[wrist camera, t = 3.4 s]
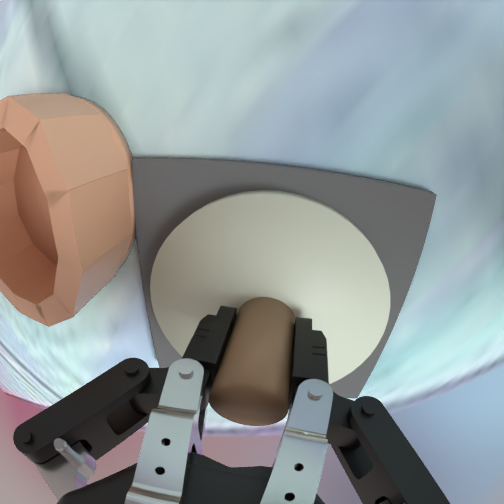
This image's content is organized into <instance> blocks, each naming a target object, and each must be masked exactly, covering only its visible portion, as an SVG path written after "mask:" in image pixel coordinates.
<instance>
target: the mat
mask: <svg viewBox="0 0 504 504" xmlns="http://www.w3.org/2000/svg"><path fill="white" fill-rule="evenodd" d="M132 176H133V197H134V212H135V224H136V234H137V244H138V253H139V261H140V268H141V276H142V282H143V289H144V295H145V301H146V307H147V312H148V318H149V323H150V328H151V333H152V337H153V342H154V347H155V351H156V355H157V360H158V364H159V368H167V367H170V366H171V364H172V363H173V362H175V361H177V360H179V359H181V358H182V356H181V355H180V354H179V353H178V352H177V351H176V350H175V349H174V347H173V346H172V345H171V344H170V342H169V341H168V340H167V338H166V337H165V335H164V334H163V332H162V330H161V328H160V326H159V324H158V322H157V319H156V317H155V314H154V311H153V306H152V302H151V293H150V281H151V273H152V268H153V264H154V261H155V259H156V256H157V254H158V251H159V249H160V248H161V246H162V245H163V243H164V241H165V240H166V238H167V237H168V236H169V235H170V234H171V233H172V231H173V230H174V229H175V228H176V227H177V226H178V225H179V224H180V223H182V222H183V221H184V220H185V219H186V218H188V217H189V216H190V215H191V214H192V213H194V212H195V211H196V210H198V209H199V208H201V207H203V206H205V205H206V204H208V203H210V202H212V201H214V200H217V199H219V198H222V197H224V196H227V195H231V194H235V193H240V192H245V191H255V190H278V191H285V192H291V193H296V194H301V195H304V196H307V197H310V198H313V199H316V200H318V201H320V202H322V203H324V204H326V205H328V206H330V207H332V208H334V209H336V210H337V211H339V212H340V213H341V214H343V215H344V216H346V217H347V218H349V219H350V220H351V221H352V222H353V223H354V224H355V225H356V226H357V227H358V228H359V229H360V230H361V231H362V232H363V233H364V235H365V236H366V237H367V239H368V240H369V241H370V242H371V244H372V246H373V248H374V250H375V251H376V253H377V255H378V257H379V259H380V261H381V263H382V264H383V267H384V269H385V272H386V275H387V278H388V282H389V289H390V312H389V318H388V322H387V325H386V328H385V331H384V334H383V336H382V338H381V339H380V341H379V343H378V345H377V346H376V348H375V349H374V351H373V352H372V353H371V355H370V356H369V357H368V358H367V359H366V360H365V361H364V362H363V363H362V364H361V365H360V366H358V367H357V368H356V369H355V370H354V371H352V372H351V373H349V374H348V375H346V376H345V377H343V378H341V379H339V380H337V381H335V382H333V383H331V384H329V385H330V386H331V388H332V390H333V391H334V392H335V393H336V394H337V395H339V396H341V397H344V398H357V397H358V396H359V394H360V392H361V390H362V389H363V387H364V385H365V383H366V382H367V380H368V378H369V376H370V374H371V372H372V370H373V369H374V367H375V365H376V363H377V361H378V359H379V357H380V355H381V353H382V351H383V349H384V347H385V344H386V342H387V340H388V338H389V336H390V334H391V332H392V329H393V327H394V325H395V322H396V320H397V318H398V315H399V313H400V311H401V308H402V306H403V303H404V301H405V298H406V296H407V293H408V290H409V288H410V285H411V282H412V279H413V276H414V274H415V271H416V268H417V265H418V262H419V259H420V255H421V252H422V249H423V246H424V242H425V239H426V235H427V232H428V228H429V224H430V220H431V216H432V212H433V208H434V204H435V199H436V194H434V193H433V192H430V191H427V190H422V189H418V188H414V187H410V186H405V185H401V184H396V183H392V182H387V181H382V180H377V179H372V178H367V177H361V176H356V175H350V174H344V173H338V172H332V171H325V170H318V169H311V168H303V167H295V166H287V165H278V164H268V163H258V162H246V161H233V160H217V159H195V158H136V159H132Z"/></svg>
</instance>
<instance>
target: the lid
mask: <svg viewBox="0 0 504 504" xmlns="http://www.w3.org/2000/svg"><path fill="white" fill-rule="evenodd" d="M150 293H151V302H152V306H153V311H154V314H155V317H156V319H157V322H158V324H159V326H160V328H161V330H162V332H163V334H164V335H165V337H166V338H167V340H168V341H169V342H170V344H171V345H172V346H173V347H174V349H175V350H176V351H177V352H178V353H179V354H180V355H181V356H182V357H183V355H184V353H185V351H186V349H187V346H188V344H189V342H190V340H191V338H192V336H193V335H194V332H195V330H196V329H197V326H198V324H199V322H200V320H201V319H203V318H204V317H205V316H206V315H208V314H210V315H217V312H218V310H219V308H220V306H227V307H233V308H237V316H236V319H235V322H234V325H233V328H232V331H231V334H230V336H229V339H228V342H227V345H226V348H225V351H224V354H223V357H222V360H221V363H220V366H219V368H218V371H217V374H216V377H215V380H214V383H213V385H212V388H211V391H210V394H209V403H210V405H211V407H212V408H213V409H214V411H216V412H217V413H218V414H219V415H221V416H222V417H224V418H226V419H228V420H230V421H233V422H236V423H239V424H244V425H250V426H265V425H270V424H274V423H277V422H279V421H281V420H282V419H283V418H285V416H286V415H287V413H288V405H289V395H290V377H291V365H292V353H293V339H294V324H295V319H296V317H302V318H311V319H312V330H319V331H322V332H323V334H324V336H325V337H326V339H327V356H328V376H329V384H331V383H333V382H335V381H337V380H339V379H341V378H343V377H345V376H346V375H348V374H349V373H351V372H352V371H354V370H355V369H356V368H357V367H358V366H360V365H361V364H362V363H363V362H364V361H365V360H366V359H367V358H368V357H369V356H370V355H371V353H372V352H373V351H374V349H375V348H376V346H377V345H378V343H379V341H380V339H381V338H382V336H383V334H384V331H385V328H386V325H387V322H388V318H389V312H390V289H389V282H388V278H387V275H386V272H385V269H384V267H383V264H382V263H381V261H380V259H379V257H378V255H377V253H376V251H375V250H374V248H373V246H372V244H371V242H370V241H369V240H368V239H367V237H366V236H365V235H364V233H363V232H362V231H361V230H360V229H359V228H358V227H357V226H356V225H355V224H354V223H353V222H352V221H351V220H350V219H349V218H347V217H346V216H344V215H343V214H341V213H340V212H339V211H337V210H336V209H334V208H332V207H330V206H328V205H326V204H324V203H322V202H320V201H318V200H316V199H313V198H310V197H307V196H304V195H301V194H296V193H291V192H285V191H278V190H255V191H245V192H240V193H235V194H231V195H227V196H224V197H222V198H219V199H217V200H214V201H212V202H210V203H208V204H206V205H205V206H203V207H201V208H199V209H198V210H196V211H195V212H194V213H192V214H191V215H190V216H189V217H188V218H186V219H185V220H184V221H183V222H182V223H180V224H179V225H178V226H177V227H176V228H175V229H174V230H173V231H172V233H171V234H170V235H169V236H168V237H167V238H166V240H165V241H164V243H163V245H162V246H161V248H160V249H159V251H158V254H157V256H156V259H155V261H154V264H153V268H152V273H151V281H150Z"/></svg>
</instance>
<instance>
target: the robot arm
mask: <svg viewBox="0 0 504 504" xmlns="http://www.w3.org/2000/svg"><path fill="white" fill-rule="evenodd" d="M236 316H237V308H233V307H227V306H220V308H219V310H218V312H217V315H210V314H208V315H206V316H205V317H204V318H203V319H201V320H200V322H199V324H198V326H197V329H196V330H195V332H194V335H193V336H192V338H191V340H190V342H189V344H188V346H187V349H186V351H185V353H184V355H183V357H182V358H181V359H179V360H177V361H175V362H173V363H172V364H171V366H170V367H167V368H149V367H148V365H147V363H146V362H144V361H143V360H141V359H138V358H129V359H125V360H123V361H122V362H120V363H119V364H117V365H115V366H114V367H112V368H111V369H109V370H108V371H106V372H104V373H103V374H101V375H100V376H98V377H97V378H95V379H93V380H92V381H90V382H89V383H87V384H86V385H84V386H82V387H81V388H79V389H78V390H76V391H74V392H73V393H71V394H70V395H68V396H66V397H65V398H63V399H62V400H60V401H58V402H57V403H55V404H53V405H52V406H50V407H49V408H47V409H45V410H44V411H42V412H40V413H39V414H37V415H35V416H34V417H32V418H30V419H29V420H27V421H26V422H24V423H22V424H21V425H19V426H18V427H17V428H16V430H15V432H14V436H13V440H14V444H15V445H16V447H17V449H18V450H19V451H20V452H22V453H23V454H24V455H25V456H27V458H28V459H29V460H30V461H31V462H33V463H34V464H35V465H36V467H37V468H38V470H39V472H40V473H41V475H42V477H43V478H44V480H45V481H46V483H47V484H48V486H49V487H50V489H51V490H52V492H53V493H54V495H55V496H56V497H57V499H58V500H59V501H58V503H57V504H325V503H324V502H323V501H322V500H321V499H320V497H319V496H318V495H317V489H318V485H319V481H320V477H321V473H322V469H323V465H324V460H325V456H326V450H327V445H328V443H329V444H331V445H332V448H333V450H334V451H335V453H336V455H337V457H338V459H339V461H340V463H341V464H342V466H343V468H344V470H345V472H346V474H347V475H348V477H349V479H350V481H351V483H352V485H353V487H354V488H355V490H356V492H357V494H358V496H359V497H360V499H361V501H362V503H363V504H450V503H449V501H448V500H447V498H446V497H445V495H444V493H443V492H442V491H441V489H440V487H439V486H438V485H437V483H436V482H435V480H434V479H433V477H432V475H431V474H430V473H429V471H428V469H427V468H426V467H425V465H424V464H423V462H422V461H421V459H420V458H419V456H418V455H417V453H416V452H415V450H414V449H413V448H412V446H411V444H410V443H409V442H408V440H407V439H406V437H405V436H404V434H403V433H402V432H401V430H400V429H399V427H398V426H397V424H396V423H395V421H394V420H393V419H392V417H391V416H390V414H389V413H388V411H387V410H386V408H385V407H384V406H383V404H382V403H381V402H380V401H379V400H378V399H376V398H374V397H370V396H363V397H360V398H358V399H356V400H355V401H353V400H350V399H347V398H344V397H341V396H339V395H337V394H336V393H335V392H334V391H333V390H332V388H331V386H330V385H329V376H328V356H327V339H326V337H325V336H324V334H323V332H322V331H319V330H312V319H311V318H302V317H296V319H295V324H294V339H293V353H292V365H291V377H290V395H289V405H288V409H289V413H288V419H287V422H286V425H285V428H284V431H283V434H282V438H281V440H280V443H279V446H278V449H277V452H276V455H275V458H274V461H273V463H272V466H271V467H264V466H256V467H238V468H237V467H236V468H231V467H228V466H225V465H223V464H221V463H219V462H216V461H214V460H212V459H210V458H208V457H206V456H204V455H203V437H204V429H205V422H206V414H207V405H208V402H209V394H210V391H211V388H212V385H213V383H214V380H215V377H216V374H217V371H218V368H219V366H220V363H221V360H222V357H223V354H224V351H225V348H226V345H227V342H228V339H229V336H230V334H231V331H232V328H233V325H234V322H235V319H236ZM146 423H148V425H147V428H146V432H145V436H144V440H143V444H142V447H141V452H140V455H139V459H138V463H136V464H134V465H132V466H130V467H128V468H126V469H123V470H121V471H119V472H117V473H115V474H112V475H110V476H108V477H106V478H104V479H101V480H99V481H96V482H94V483H92V484H89V485H87V482H88V479H89V478H90V477H91V476H92V475H94V473H95V470H96V460H97V459H99V458H100V457H102V456H103V455H104V454H106V453H107V452H109V451H110V450H111V449H113V448H114V447H115V446H117V445H118V444H120V443H121V442H122V441H124V440H125V439H126V438H128V437H129V436H130V435H132V434H133V433H134V432H136V431H137V430H138V429H140V428H141V427H142V426H144V425H145V424H146Z"/></svg>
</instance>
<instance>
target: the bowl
mask: <svg viewBox="0 0 504 504" xmlns="http://www.w3.org/2000/svg"><path fill="white" fill-rule="evenodd" d="M132 159H133V157H132V154H131V151H130V149H129V146H128V144H127V142H126V139H125V137H124V136H123V134H122V132H121V130H120V128H119V127H118V125H117V124H116V123H115V121H114V120H113V119H112V117H111V116H110V115H109V114H108V113H107V112H106V111H105V110H104V109H103V108H102V107H100V106H99V105H97V104H96V103H94V102H92V101H90V100H88V99H86V98H81V97H77V96H70V95H69V94H67V93H42V94H25V95H14V96H7V97H6V98H4V99H2V100H0V291H1V292H2V293H3V294H4V296H5V297H6V298H7V299H8V300H9V301H10V302H11V304H12V305H13V306H14V307H15V308H16V309H17V310H18V311H19V312H20V313H22V314H24V315H26V316H28V317H30V318H32V319H34V320H36V321H38V322H40V323H42V324H44V325H46V326H48V327H49V326H52V325H54V324H57V323H59V322H62V321H64V320H67V319H69V318H72V317H74V316H75V315H76V314H77V313H78V312H79V311H80V310H81V309H82V308H83V307H84V306H85V305H86V304H87V303H88V302H89V301H90V300H91V299H92V298H93V297H94V296H95V295H96V294H97V293H98V292H99V291H100V290H101V289H102V288H103V287H104V286H105V285H106V284H107V283H108V282H109V281H110V280H111V279H112V278H113V277H115V275H116V272H117V270H118V268H119V267H120V266H121V265H122V264H123V263H124V261H125V260H126V259H127V257H128V255H129V253H130V251H131V249H132V247H133V244H134V241H135V238H136V224H135V212H134V197H133V176H132Z"/></svg>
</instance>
